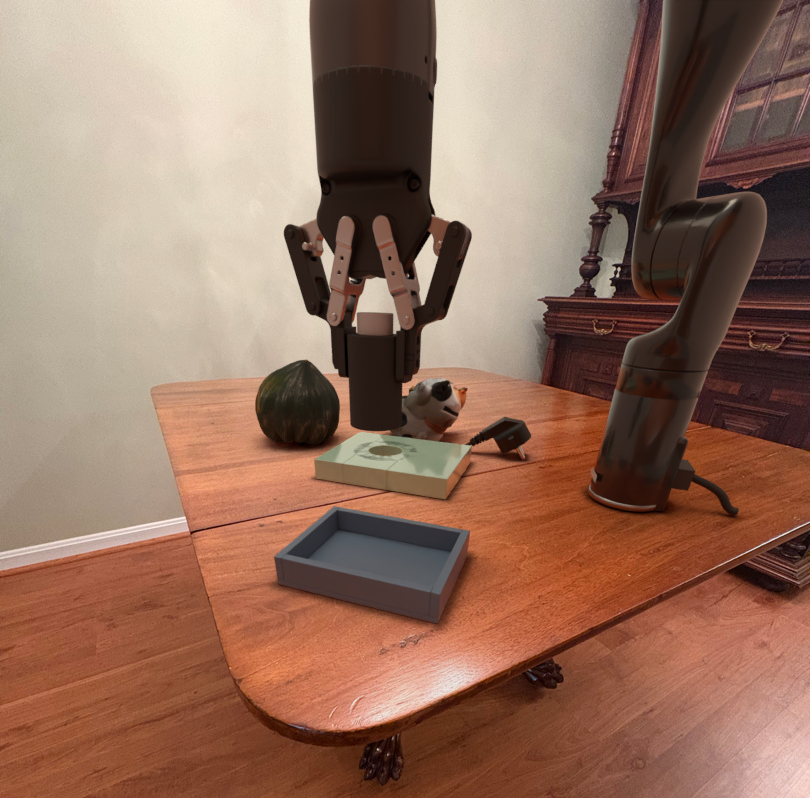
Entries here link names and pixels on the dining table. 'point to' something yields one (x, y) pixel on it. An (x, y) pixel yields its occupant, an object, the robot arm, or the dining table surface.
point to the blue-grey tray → (376, 562)
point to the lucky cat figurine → (430, 409)
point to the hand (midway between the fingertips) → (375, 377)
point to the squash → (297, 404)
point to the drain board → (395, 464)
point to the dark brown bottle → (374, 374)
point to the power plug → (505, 435)
